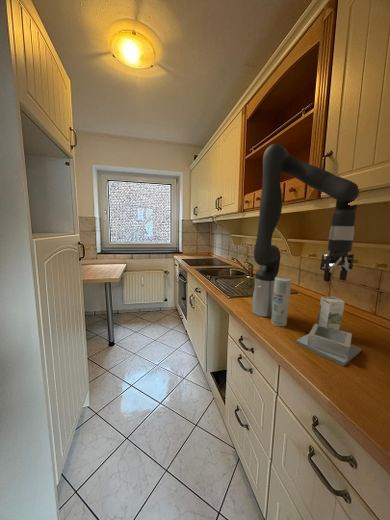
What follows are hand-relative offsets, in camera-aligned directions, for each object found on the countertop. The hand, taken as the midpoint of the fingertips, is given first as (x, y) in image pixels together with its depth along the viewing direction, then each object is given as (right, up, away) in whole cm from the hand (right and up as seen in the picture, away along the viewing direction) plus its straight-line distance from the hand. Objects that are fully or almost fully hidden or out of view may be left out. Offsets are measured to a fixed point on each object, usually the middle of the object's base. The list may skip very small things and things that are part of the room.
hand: (334, 280), depth 80 cm
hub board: (-7, -23, -7) cm, 25 cm away
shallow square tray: (-7, -22, -8) cm, 24 cm away
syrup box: (-1, -22, +3) cm, 22 cm away
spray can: (-17, -20, +11) cm, 29 cm away
